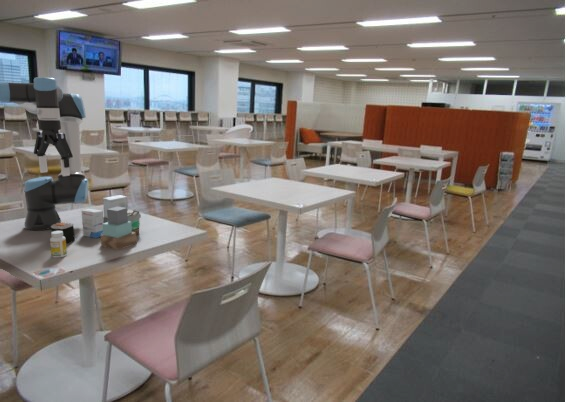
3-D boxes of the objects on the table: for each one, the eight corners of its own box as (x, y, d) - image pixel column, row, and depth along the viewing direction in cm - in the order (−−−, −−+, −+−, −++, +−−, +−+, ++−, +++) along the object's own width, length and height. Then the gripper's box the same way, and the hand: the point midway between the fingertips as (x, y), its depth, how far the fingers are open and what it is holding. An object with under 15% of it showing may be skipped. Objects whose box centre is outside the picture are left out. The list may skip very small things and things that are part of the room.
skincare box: (111, 219, 209) (109, 199, 206) (103, 217, 212) (102, 197, 210) (128, 215, 217) (127, 196, 215) (121, 213, 221) (119, 194, 218)
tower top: (103, 235, 170) (102, 223, 169) (118, 230, 177) (117, 219, 176) (117, 238, 167) (116, 226, 166) (131, 232, 174) (131, 221, 173)
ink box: (105, 235, 184) (103, 210, 182) (96, 238, 180) (94, 212, 177) (92, 232, 188) (89, 207, 185) (82, 235, 184) (80, 210, 181)
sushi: (63, 245, 170) (61, 227, 168) (48, 242, 173) (46, 224, 171) (78, 239, 178) (77, 222, 176) (64, 237, 180) (62, 220, 179)
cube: (108, 223, 170) (106, 209, 169) (118, 219, 175) (117, 206, 173) (118, 225, 168) (117, 210, 166) (127, 221, 173) (127, 208, 171)
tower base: (101, 246, 172) (100, 235, 170) (120, 239, 180) (119, 228, 179) (117, 250, 167) (116, 239, 166) (136, 243, 176) (136, 232, 174)
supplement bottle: (55, 259, 156) (52, 235, 154) (49, 255, 159) (46, 232, 157) (69, 255, 160) (67, 232, 158) (63, 252, 163) (61, 229, 161)
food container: (132, 239, 180) (131, 217, 178) (119, 238, 181) (118, 216, 179) (147, 231, 192) (145, 210, 189) (135, 230, 193) (133, 209, 191)
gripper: (19, 118, 159) (26, 172, 164) (61, 121, 148) (66, 178, 153) (38, 117, 165) (44, 169, 170) (79, 120, 154) (84, 175, 159)
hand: (54, 174), depth 161 cm, fingers open, 13 cm apart
